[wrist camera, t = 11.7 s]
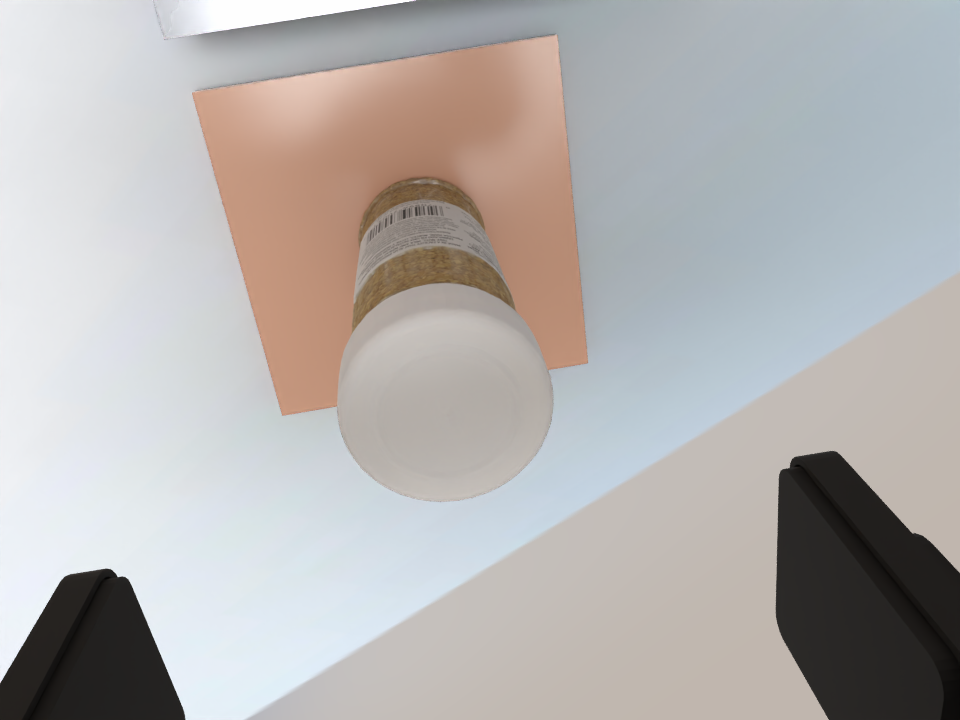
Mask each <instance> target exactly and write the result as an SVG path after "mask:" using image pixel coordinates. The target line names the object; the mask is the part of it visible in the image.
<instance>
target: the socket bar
mask: <svg viewBox="0 0 960 720" xmlns="http://www.w3.org/2000/svg"><path fill="white" fill-rule="evenodd" d="M408 1H415V0H153V2H154V6H155V9H156V13H157V16H158V20H159V23H160V27H161V30H162V34H163V37H164V40H165V39H171V38H178V37H184V36H191V35H197V34H203V33H210V32H216V31H223V30H229V29H236V28H242V27H248V26H255V25H261V24H268V23H274V22H280V21H287V20H293V19H300V18H306V17H312V16H319V15H325V14H332V13H338V12H344V11H351V10H357V9H364V8H370V7H376V6H383V5H389V4H396V3H402V2H408Z"/></svg>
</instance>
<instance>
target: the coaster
mask: <svg viewBox="0 0 960 720" xmlns="http://www.w3.org/2000/svg"><path fill="white" fill-rule="evenodd" d="M192 95H193V99H194V102H195V106H196V109H197V113H198V116H199V120H200V124H201V127H202V131H203V134H204V138H205V141H206V145H207V149H208V152H209V156H210V159H211V163H212V166H213V170H214V174H215V177H216V181H217V184H218V188H219V191H220V195H221V198H222V202H223V206H224V209H225V213H226V216H227V220H228V223H229V227H230V231H231V234H232V238H233V241H234V245H235V248H236V252H237V255H238V259H239V263H240V266H241V270H242V273H243V277H244V280H245V284H246V288H247V291H248V295H249V298H250V302H251V305H252V309H253V313H254V316H255V320H256V323H257V327H258V330H259V334H260V337H261V341H262V345H263V348H264V352H265V355H266V359H267V362H268V366H269V370H270V373H271V377H272V380H273V384H274V387H275V391H276V394H277V398H278V402H279V405H280V409H281V412H282V416H283V415H289V414H295V413H301V412H307V411H313V410H318V409H324V408H330V407H336V406H337V398H338V381H339V372H340V365H341V360H342V356H343V352H344V349H345V347H346V345H347V343H348V341H349V339H350V337H351V333H352V320H353V308H354V290H355V282H356V273H357V266H358V259H359V251H360V247H359V242H358V236H359V229H360V224H361V222H362V219H363V216H364V213H365V211H366V210H367V209H368V208H369V206H370V204H371V203H372V202H373V200H374V198H375V197H376V196H377V195H379V194H380V193H381V192H382V191H383V190H385V189H387V188H388V187H389V186H391V185H392V184H395V183H397V182H399V181H405V180H408V179H411V178H422V177H429V178H435V179H439V180H442V181H445V182H448V183H450V184H452V185H454V186H456V187H457V188H459V189H460V190H462V191H463V192H464V193H465V194H466V195H467V196H468V197H470V198H471V199H472V200H473V202H474V203H475V205H476V207H477V208H478V210H479V212H480V213H481V216H482V219H483V221H484V226H485V232H486V234H487V236H488V238H489V240H490V242H491V245H492V247H493V250H494V252H495V255H496V257H497V260H498V262H499V265H500V267H501V270H502V272H503V275H504V278H505V280H506V282H507V285H508V287H509V289H510V292H511V295H512V297H513V300H514V304H515V309H516V312H517V313H518V314H519V315H520V316H521V317H522V318H523V320H524V321H525V322H526V323H527V325H528V327H529V328H530V330H531V331H532V333H533V335H534V337H535V339H536V341H537V343H538V345H539V347H540V350H541V352H542V355H543V358H544V360H545V363H546V366H547V369H548V370H551V369H557V368H563V367H568V366H574V365H580V364H586V363H588V357H587V346H586V336H585V325H584V314H583V303H582V292H581V282H580V271H579V260H578V249H577V239H576V228H575V217H574V206H573V195H572V185H571V174H570V163H569V152H568V142H567V131H566V120H565V109H564V98H563V88H562V77H561V66H560V55H559V45H558V35H556V34H552V35H546V36H539V37H533V38H527V39H520V40H514V41H508V42H501V43H495V44H489V45H483V46H476V47H470V48H464V49H457V50H451V51H445V52H438V53H432V54H426V55H419V56H413V57H407V58H400V59H394V60H388V61H382V62H375V63H369V64H363V65H356V66H350V67H344V68H337V69H331V70H325V71H318V72H312V73H306V74H299V75H293V76H287V77H281V78H274V79H268V80H262V81H255V82H249V83H243V84H236V85H230V86H224V87H217V88H211V89H205V90H198V91H195V92H193V93H192Z"/></svg>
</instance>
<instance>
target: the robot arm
mask: <svg viewBox="0 0 960 720" xmlns="http://www.w3.org/2000/svg"><path fill="white" fill-rule="evenodd" d="M778 497H779V498H778V539H777V581H776V618H777V624H778V627H779V630H780V633H781V636H782V638H783V640H784V642H785V643H786V645H787V647H788V648H789V650H790V652H791V654H792V656H793V658H794V659H795V661H796V663H797V664H798V666H799V668H800V670H801V672H802V673H803V675H804V677H805V679H806V680H807V682H808V684H809V686H810V687H811V689H812V691H813V693H814V694H815V696H816V698H817V700H818V702H819V703H820V705H821V707H822V709H823V710H824V712H825V714H826V716H827V717H828V719H829V720H960V573H959V572H958V571H957V570H956V569H955V568H954V567H953V565H952V564H951V563H950V562H949V561H948V560H947V559H946V558H945V557H944V556H943V555H942V554H941V553H940V552H939V550H938V549H937V548H936V547H935V546H934V545H933V544H932V543H931V542H930V541H928V540H927V539H926V538H925V537H924V536H922V535H919V534H916V533H914V534H912V533H911V532H910V531H909V529H908V528H907V527H906V526H905V525H904V524H903V523H902V522H901V521H900V520H899V518H898V517H897V516H896V515H895V514H894V513H893V512H892V511H891V510H890V509H889V508H888V506H887V505H886V504H885V503H884V502H883V501H882V500H881V499H880V498H879V497H878V495H877V494H876V493H875V492H874V491H873V490H872V489H871V488H870V487H869V486H868V485H867V484H866V482H865V481H864V480H863V479H862V478H861V477H860V476H859V475H858V474H857V473H856V471H855V470H854V469H853V468H852V467H851V466H850V465H849V464H848V463H847V462H846V461H845V459H844V458H843V457H842V456H841V455H840V454H838V453H837V452H835V451H829V452H823V453H817V454H810V455H804V456H798V457H794V458H793V459H792V461H791V463H790V468H788V469H783V470H781V472H780V474H779V495H778ZM0 720H185V714H184V711H183V707H182V705H181V703H180V700H179V698H178V696H177V693H176V691H175V688H174V686H173V684H172V681H171V679H170V676H169V674H168V672H167V669H166V667H165V664H164V662H163V660H162V657H161V655H160V653H159V650H158V648H157V645H156V643H155V641H154V638H153V636H152V633H151V631H150V629H149V626H148V624H147V621H146V619H145V617H144V614H143V612H142V609H141V607H140V605H139V602H138V600H137V598H136V595H135V593H134V590H133V588H132V586H131V584H130V582H129V580H128V579H127V578H126V577H117V575H116V574H115V572H113V571H112V570H111V569H101V570H95V571H89V572H83V573H77V574H70V575H68V576H65V577H64V578H63V579H62V580H61V582H60V583H59V585H58V587H57V588H56V590H55V592H54V593H53V595H52V597H51V598H50V600H49V602H48V603H47V605H46V607H45V609H44V610H43V612H42V614H41V615H40V617H39V619H38V620H37V622H36V624H35V625H34V627H33V629H32V631H31V632H30V634H29V636H28V637H27V639H26V641H25V642H24V644H23V646H22V647H21V649H20V651H19V653H18V654H17V656H16V658H15V659H14V661H13V663H12V664H11V666H10V668H9V669H8V671H7V673H6V675H5V676H4V678H3V680H2V681H1V683H0Z"/></svg>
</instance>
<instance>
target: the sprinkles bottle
mask: <svg viewBox="0 0 960 720" xmlns="http://www.w3.org/2000/svg"><path fill="white" fill-rule="evenodd" d="M358 242H359V247H360V251H359V259H358V266H357V273H356V282H355V290H354V308H353V320H352V333H351V337H350V339H349V341H348V343H347V345H346V347H345V349H344V352H343V356H342V360H341V365H340V372H339V381H338V398H337V413H338V420H339V426H340V430H341V434H342V437H343V439H344V442H345V444H346V446H347V448H348V450H349V452H350V453H351V455H352V456H353V458H354V459H355V461H356V462H357V463H358V465H359V466H360V467H361V468H362V469H363V470H364V471H365V472H366V473H367V474H368V475H369V476H371V477H372V478H373V479H374V480H375V481H377V482H378V483H380V484H381V485H383V486H384V487H386V488H388V489H390V490H392V491H394V492H397V493H399V494H402V495H404V496H407V497H411V498H415V499H420V500H425V501H437V502H445V501H458V500H463V499H468V498H473V497H476V496H479V495H482V494H485V493H487V492H490V491H492V490H494V489H496V488H498V487H500V486H502V485H503V484H505V483H506V482H508V481H510V480H511V479H512V478H514V477H515V476H516V475H517V474H519V473H520V472H521V471H522V470H523V469H524V468H525V467H526V466H527V465H528V464H529V463H530V461H531V460H532V459H533V458H534V456H535V455H536V454H537V452H538V450H539V449H540V447H541V446H542V444H543V441H544V439H545V437H546V435H547V432H548V430H549V427H550V424H551V420H552V412H553V389H552V383H551V378H550V375H549V372H548V369H547V366H546V363H545V360H544V358H543V355H542V352H541V350H540V347H539V345H538V343H537V341H536V339H535V337H534V335H533V333H532V331H531V330H530V328H529V327H528V325H527V323H526V322H525V321H524V320H523V318H522V317H521V316H520V315H519V314H518V313H517V312H516V309H515V304H514V300H513V297H512V295H511V292H510V289H509V287H508V285H507V282H506V280H505V278H504V275H503V272H502V270H501V267H500V265H499V262H498V260H497V257H496V255H495V252H494V250H493V247H492V245H491V242H490V240H489V238H488V236H487V234H486V232H485V226H484V221H483V219H482V216H481V213H480V212H479V210H478V208H477V207H476V205H475V203H474V202H473V200H472V199H471V198H470V197H468V196H467V195H466V194H465V193H464V192H463V191H462V190H460V189H459V188H457V187H456V186H454V185H452V184H450V183H448V182H445V181H442V180H439V179H435V178H429V177H422V178H411V179H408V180H405V181H399V182H397V183H395V184H392V185H391V186H389V187H388V188H387V189H385V190H383V191H382V192H381V193H380V194H379V195H377V196H376V197H375V198H374V200H373V202H372V203H371V204H370V206H369V208H368V209H367V210H366V211H365V213H364V216H363V219H362V222H361V224H360V229H359V236H358Z"/></svg>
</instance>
